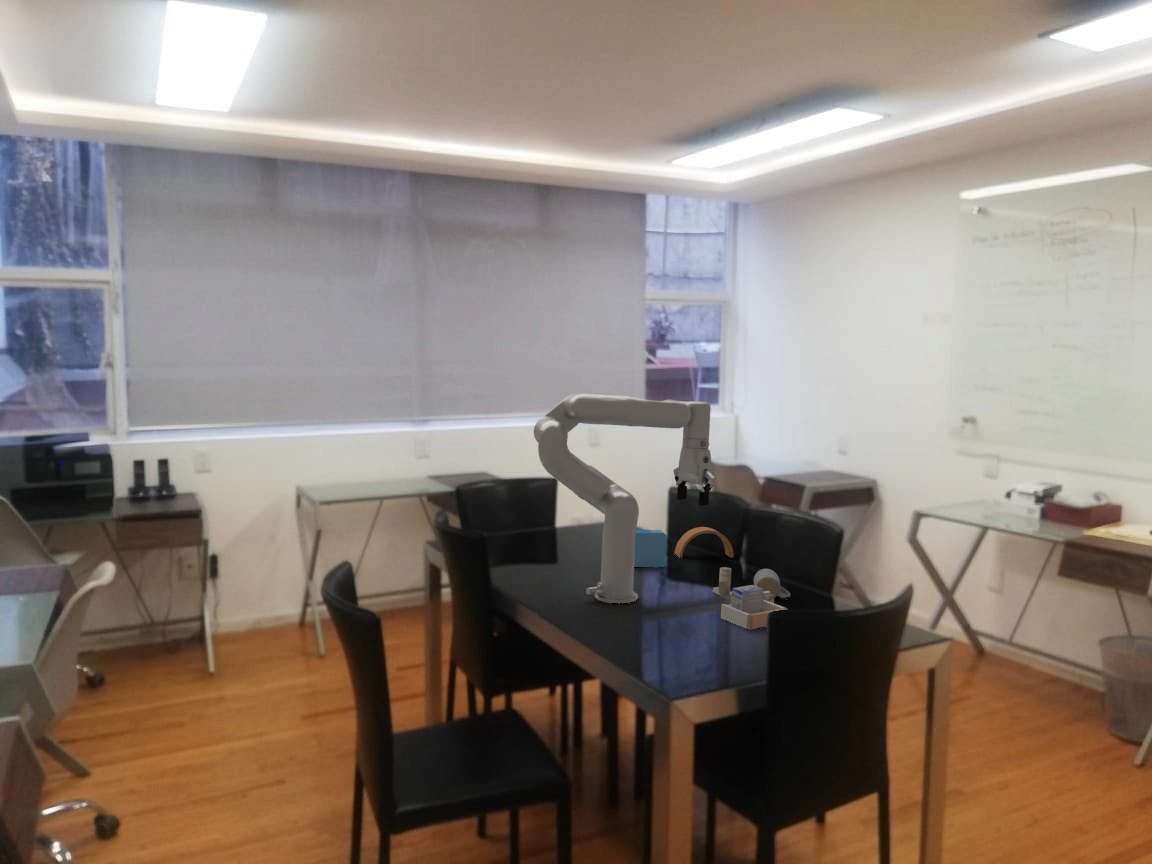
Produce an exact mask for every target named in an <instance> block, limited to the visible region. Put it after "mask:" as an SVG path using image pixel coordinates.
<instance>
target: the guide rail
mask: <svg viewBox="0 0 1152 864" xmlns="http://www.w3.org/2000/svg"><path fill="white" fill-rule="evenodd" d="M713 592H714V593H713ZM712 593H713V594H715V593H716V595H719V596H720V594H719V586H715V587H713V588H712ZM730 594H731V595H732V591H730Z"/></svg>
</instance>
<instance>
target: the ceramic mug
mask: <svg viewBox="0 0 1152 864" xmlns="http://www.w3.org/2000/svg"><path fill="white" fill-rule="evenodd" d="M779 577H780V576H778V574H777V573H776V571H774V570H773V569H770V568H762V569H759V570H758V571H757V572H756V573H755V575H754V576H753V585H754V586H757V587H760V588H762V589H764V591H769V592H771V594H773V595H774V599H776V597H779V598H780V599H783V598H786V597H789V598H790V597H791V593H790V591H788V590H787V589H786V588H785V587H783V586H781V583H780V578H779Z"/></svg>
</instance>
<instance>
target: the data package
mask: <svg viewBox="0 0 1152 864" xmlns="http://www.w3.org/2000/svg"><path fill="white" fill-rule="evenodd" d="M667 539H668V538H667V535H666V533H665V532H664V531H663V530H661V529H636V538H635V561H634V567H637V566H639V567H663V568H664V567H666V562H667V561H666V560H667V557H666V556H667Z"/></svg>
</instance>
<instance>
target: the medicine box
mask: <svg viewBox="0 0 1152 864" xmlns="http://www.w3.org/2000/svg"><path fill="white" fill-rule="evenodd" d="M731 592H732V596H731V600H730V604H731V607H733V608H736V609H738V610H741V611H743V612H746V613H748V614H755V613H760V612H762V606H763V592H764V589H762V588H760V587H757V586H754V584H751V585H749V584H748V585H744V586H738V587H732V589H731Z"/></svg>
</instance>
